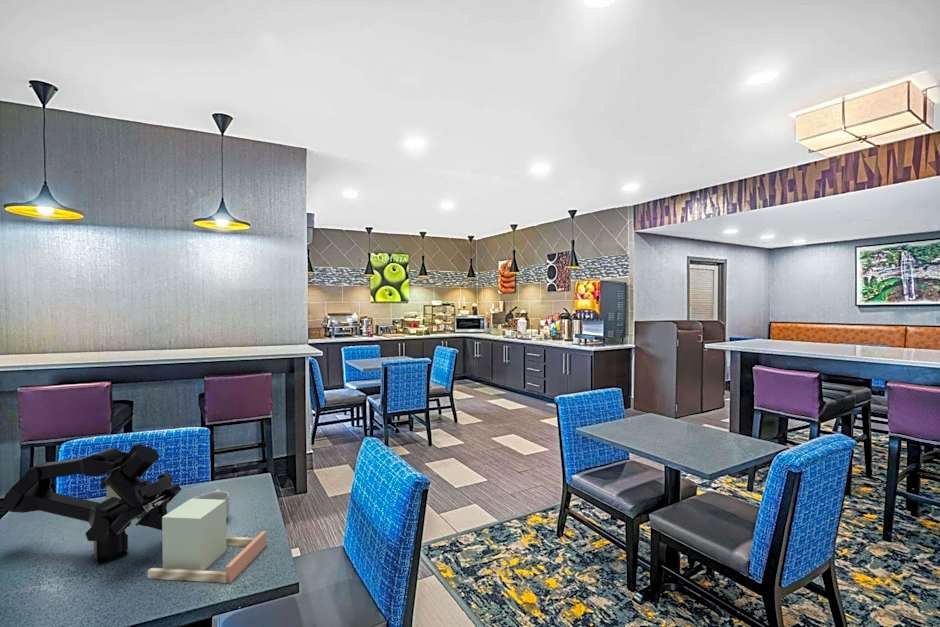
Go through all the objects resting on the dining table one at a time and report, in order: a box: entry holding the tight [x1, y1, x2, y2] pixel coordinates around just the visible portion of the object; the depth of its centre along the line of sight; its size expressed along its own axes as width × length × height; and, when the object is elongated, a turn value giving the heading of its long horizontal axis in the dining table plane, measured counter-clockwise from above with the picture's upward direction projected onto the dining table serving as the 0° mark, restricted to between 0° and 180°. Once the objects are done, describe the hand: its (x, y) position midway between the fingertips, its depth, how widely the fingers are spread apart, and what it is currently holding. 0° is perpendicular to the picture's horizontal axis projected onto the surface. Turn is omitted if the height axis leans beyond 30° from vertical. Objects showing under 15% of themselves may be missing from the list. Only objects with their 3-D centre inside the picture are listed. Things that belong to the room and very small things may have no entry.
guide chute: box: [147, 530, 267, 584], centre depth 123 cm, size 21×17×4 cm
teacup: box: [192, 488, 230, 518], centre depth 145 cm, size 14×11×8 cm
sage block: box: [161, 498, 227, 571], centre depth 123 cm, size 10×11×14 cm
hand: (170, 530), depth 123 cm, fingers closed
